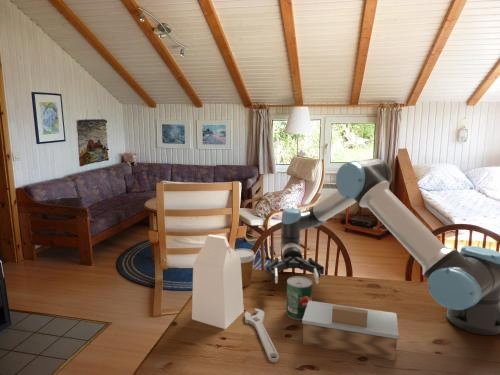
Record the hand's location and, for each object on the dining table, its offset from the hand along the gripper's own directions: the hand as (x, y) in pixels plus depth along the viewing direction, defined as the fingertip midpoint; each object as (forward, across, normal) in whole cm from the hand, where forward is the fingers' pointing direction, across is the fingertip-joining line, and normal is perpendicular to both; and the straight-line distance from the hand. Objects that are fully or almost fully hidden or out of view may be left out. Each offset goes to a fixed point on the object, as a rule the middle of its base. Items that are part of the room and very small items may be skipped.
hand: (296, 279), depth 128 cm
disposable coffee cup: (-14, +19, -8) cm, 25 cm away
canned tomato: (+8, 0, -8) cm, 11 cm away
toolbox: (+22, -13, -8) cm, 26 cm away
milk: (+9, +25, -8) cm, 28 cm away
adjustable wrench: (+20, +12, -8) cm, 25 cm away
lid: (+22, -13, -1) cm, 25 cm away
